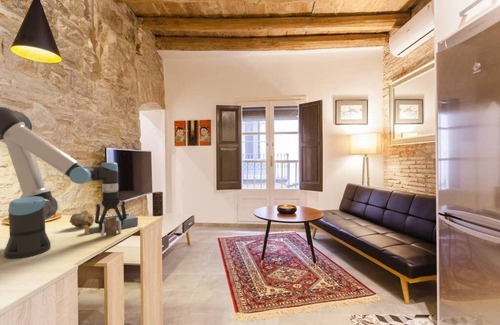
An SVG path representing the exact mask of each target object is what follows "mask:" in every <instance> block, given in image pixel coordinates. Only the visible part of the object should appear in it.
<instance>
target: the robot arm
mask: <svg viewBox="0 0 500 325" xmlns="http://www.w3.org/2000/svg"><path fill="white" fill-rule="evenodd" d="M33 128H34V127H33V123H32V120H31V119H30V118H29V117H28V116H27V115H26V114H24V113H23V112H20V111H17V110H16V111H15V110H13V109H11V108H9V107H6V106H0V142H1V143H3V144H5V146H6V147H7V148H6V149H7V151H8V154H9V156H10V160H11V163H12V166H13V169H14V171H15V172H14V173H15V174H16V175H15V176H16V178H17V181H18V183H19V186H20V190H21V193H22V194H21V195H20V196H19V198H16V199H13V200H11V201H9V204H8V209H7V210H8V223H9V224H8V229H9V231H8V232H9V236H8V237H9V238H8V241H7V243H6V246H5V248H4V251H3V254H4V255H3V257H4V258H5V257H6V258H5V259H20V258H27V257H32V255H33V256H36V255H39V254H43V253H45V252H48V251H49V250H50V249H51V246H52V245H51V240H50V239H49V237H48V234H47V232H46V220H47V221H48V219H49V220H50V218H52V217H53V216H54V215H55V214H56V212H57V211H58V209H59V203H58V200H57V199H56V198H55V197H53V194H52V192H51V190H50V189H48V188H46V186H45V182H44V180H43V177H42V174H41V171H40V166H39V164H38V161H37V159H36V158H39V159H40V160H42V161H44V162H45V163H47V164H48V165H49V166H51V167H53V168H54V169H55V170H57V171H58V172H60V173H62V174H63V175H65V176H66V177H68V178H69V180H70V181H71V182H73V183H75V184H78V185H81V184H85V183H88V182H98V181H101V189H102V190H101V191H102V197H101V198H102V201H101V202H100V203H96V204H95V208H96V210H95V217H94V223H95V224H98V226H99V230H101V231H100V232H101V233H100V234H101V235H100V236H101V237H102V238H103V237H105V231H104V224H103V221H104V218H105V217H107V216H106V215H107V212H108V211H109V210H111V209H112V210H114V211H115V214H116V215H118V218H119V220H118V230H117V234H122V229H121V227H122V226H123V220H124V219H126V218H127V217H126V214H127V211H126V207H125V205H126V201H124V200H120V198H119V197H120V196H119V167H118V166H119V165H118V163H117V162H102V163H101V165H98V166H84V165H83V164H81V163H80V162H78V160H75V159H74V158H72V157H71V156H70V155H68V154H67V153H65V152H64V151H62V150H61V149H59V148H58V147H56V146H55V145H53V144H52V143H50V142H49V141H47V140H46V139H44V138H43V137H41V136H40V135H39V134H37V133H36V132H34V131H33ZM118 205H120V209H121V212H120V209H119V207H118ZM102 206H103V210H102V213H101V208H102ZM100 214H101V215H100ZM121 214H122V215H123V217H122V216H121Z"/></svg>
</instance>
